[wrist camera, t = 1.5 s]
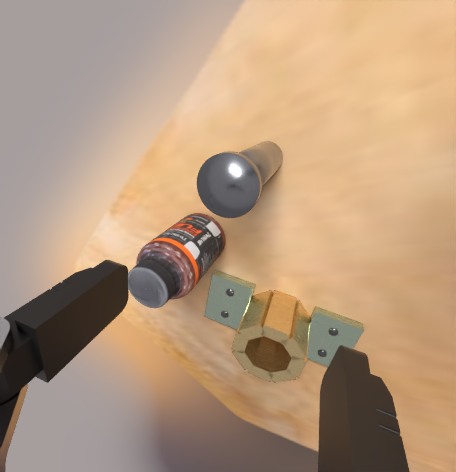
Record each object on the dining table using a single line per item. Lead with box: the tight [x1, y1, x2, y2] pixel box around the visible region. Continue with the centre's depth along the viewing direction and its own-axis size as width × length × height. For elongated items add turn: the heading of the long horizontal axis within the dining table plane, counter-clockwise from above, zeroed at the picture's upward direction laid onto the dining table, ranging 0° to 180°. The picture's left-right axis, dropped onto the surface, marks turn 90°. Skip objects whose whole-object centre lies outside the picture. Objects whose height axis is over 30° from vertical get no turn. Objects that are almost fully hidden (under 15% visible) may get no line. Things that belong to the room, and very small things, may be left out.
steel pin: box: [197, 142, 283, 218], centre depth 21 cm, size 4×4×12 cm
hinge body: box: [204, 270, 364, 383], centre depth 30 cm, size 7×18×6 cm, turn 79°
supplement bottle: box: [128, 213, 225, 308], centre depth 27 cm, size 6×6×11 cm
